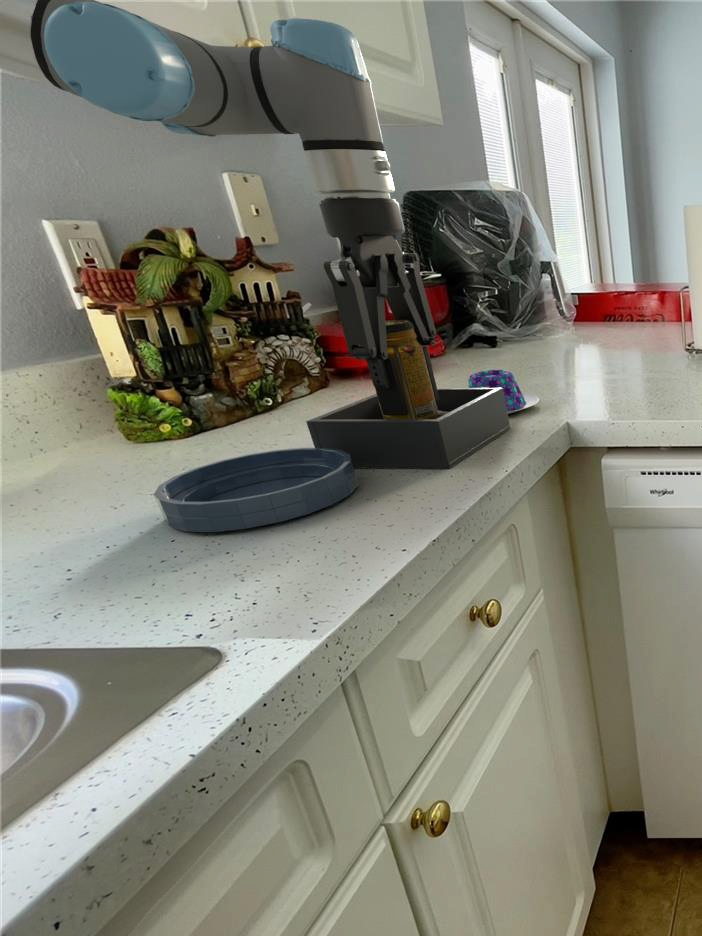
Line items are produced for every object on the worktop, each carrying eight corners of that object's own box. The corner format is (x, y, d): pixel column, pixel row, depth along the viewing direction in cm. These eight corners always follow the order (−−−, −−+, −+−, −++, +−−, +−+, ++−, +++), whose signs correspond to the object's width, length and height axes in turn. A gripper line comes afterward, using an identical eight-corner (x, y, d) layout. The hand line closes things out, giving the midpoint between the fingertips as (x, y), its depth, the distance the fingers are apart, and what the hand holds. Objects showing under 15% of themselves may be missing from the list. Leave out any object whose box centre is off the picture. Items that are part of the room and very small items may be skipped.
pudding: (546, 412, 102) (539, 376, 100) (455, 424, 97) (447, 387, 95) (533, 394, 112) (527, 361, 110) (450, 405, 107) (442, 370, 105)
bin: (321, 468, 82) (305, 421, 80) (400, 429, 96) (389, 388, 94) (449, 468, 81) (438, 421, 78) (510, 429, 95) (502, 387, 93)
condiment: (369, 427, 86) (339, 325, 81) (427, 410, 93) (404, 315, 88) (411, 433, 83) (383, 328, 78) (468, 415, 90) (447, 317, 85)
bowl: (122, 534, 66) (107, 503, 65) (256, 474, 81) (246, 447, 79) (285, 537, 65) (273, 504, 63) (391, 475, 79) (383, 447, 78)
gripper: (331, 195, 68) (395, 429, 77) (438, 196, 85) (480, 388, 95) (257, 197, 68) (330, 429, 78) (379, 198, 85) (426, 388, 95)
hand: (412, 406), depth 86 cm, fingers closed on condiment, 6 cm apart
